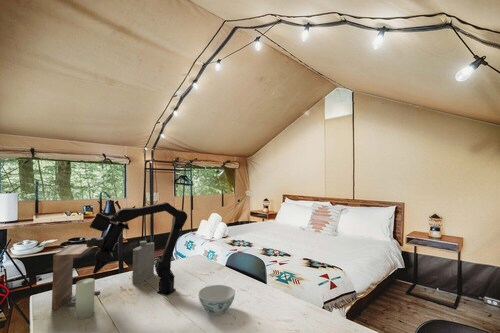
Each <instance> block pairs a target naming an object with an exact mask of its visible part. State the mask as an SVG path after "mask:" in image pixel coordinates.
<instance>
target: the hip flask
mask: <svg viewBox="0 0 500 333" xmlns="http://www.w3.org/2000/svg"><path fill="white" fill-rule="evenodd" d="M154 274H155V242H152V241H151V242H148V241H147V240H141V241H139V246H137V247H135V248H133V249H132V277H131V278H132V280H131V281H132V282H131V284H132V285H133V286H134V285H135V286H136V285H139V284H140V283H142V282H143V281H144V280H147V278H150V277H152V276H154Z"/></svg>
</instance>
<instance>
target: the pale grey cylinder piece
mask: <svg viewBox="0 0 500 333" xmlns="http://www.w3.org/2000/svg"><path fill="white" fill-rule="evenodd" d="M95 284H96V280H95V278H90V277H89V278H88V277H87V278H83V279H81V280H78V281H76V283H75V295H76V304H75V305H74V308H75V309H74V310H75V311H74V312H75V315H74V316H75V317H74V318H75V319H78V320H82V319H87V318H89V317H91V316H93V315H94V313H95V295H94V293H95V291H96V290H95Z"/></svg>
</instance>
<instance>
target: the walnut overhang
mask: <svg viewBox="0 0 500 333" xmlns="http://www.w3.org/2000/svg"><path fill="white" fill-rule="evenodd" d="M86 246H87V243H85V244H70V245H68V246H66V247H65V248H63V249H61V250H59V251H58V252H57V253H56V252H55V253H54V254H53V256H52V257H53V258H52V259H53V261H52V263H53V264H52V288H51V292H52V293H51V311H52V310H53V311H57V310H58V309H57V308H59V307H61V306H62V304H63V303H64V302H65V301H66V300H67V299H68V298H70V296H71V295H72V294H73V278H74V277H73V272H74V259H76V258H77V259H78V258H82V257H83V256H84V255H85V254H86V253H89V251H91V250H92V249H93V248H94V247H86ZM96 295H97V296H98V295H101V290H95V293H94V296H96ZM75 304H76V294H74V296H73V297H72V298H71V299H70V300H69V302H67V307H75ZM56 309H57V310H56Z"/></svg>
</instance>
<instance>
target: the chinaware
mask: <svg viewBox="0 0 500 333" xmlns="http://www.w3.org/2000/svg"><path fill="white" fill-rule="evenodd" d="M235 295H236V291H235V289H234V288H233V287H231V286H228V285H225V284H213V285H208V286H206V287H203V288H201V289H200V290H199V291H198V299H199V302H200V305H201V306H202V307H203V308H204V310H206V311H207V312H208V314H209V315H211V316H215V317H216V316H217V317H218V316H221V315H223V314H224V313H225V312H226V311H227V310H228V309H230V307H231V305H232V303H233V301H234V300H235Z"/></svg>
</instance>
